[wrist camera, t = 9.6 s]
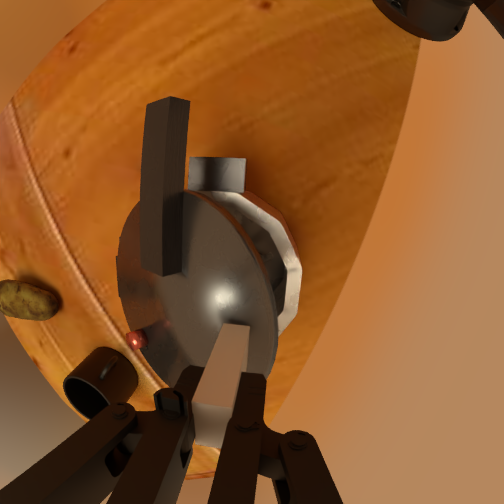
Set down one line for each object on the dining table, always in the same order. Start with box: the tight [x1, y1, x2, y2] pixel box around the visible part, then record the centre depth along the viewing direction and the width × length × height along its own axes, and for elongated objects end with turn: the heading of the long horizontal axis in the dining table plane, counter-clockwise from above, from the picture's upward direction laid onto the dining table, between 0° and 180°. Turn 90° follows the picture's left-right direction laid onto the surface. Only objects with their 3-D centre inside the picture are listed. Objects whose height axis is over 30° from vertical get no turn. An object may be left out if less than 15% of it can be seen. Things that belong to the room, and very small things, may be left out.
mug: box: [63, 347, 138, 420], centre depth 36 cm, size 9×12×9 cm
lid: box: [116, 96, 279, 388], centre depth 19 cm, size 17×22×3 cm
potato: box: [0, 280, 58, 321], centre depth 36 cm, size 8×13×8 cm, turn 63°
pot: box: [119, 157, 302, 336], centre depth 30 cm, size 17×22×9 cm
